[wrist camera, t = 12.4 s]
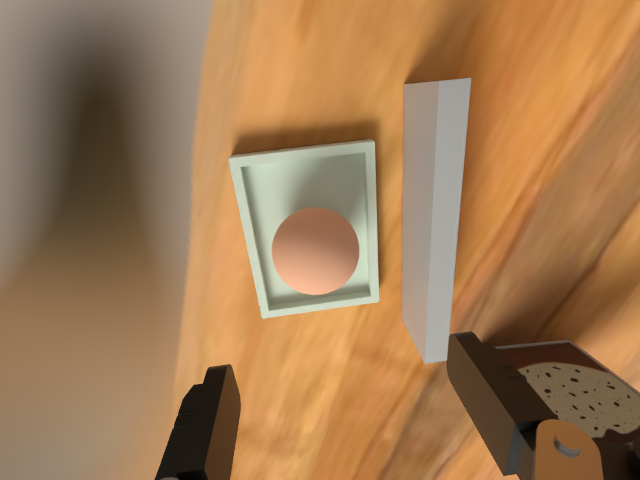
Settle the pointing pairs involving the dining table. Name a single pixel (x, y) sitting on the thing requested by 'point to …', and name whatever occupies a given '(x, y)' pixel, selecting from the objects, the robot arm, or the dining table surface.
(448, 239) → the low wall
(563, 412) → the food container
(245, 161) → the sage tray
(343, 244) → the ball
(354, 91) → the dining table surface
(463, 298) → the dining table surface
